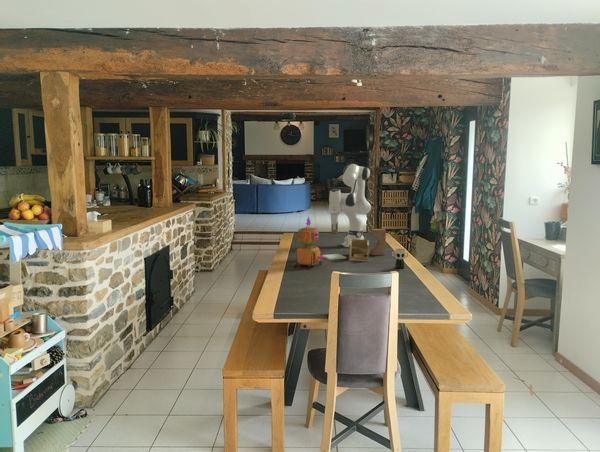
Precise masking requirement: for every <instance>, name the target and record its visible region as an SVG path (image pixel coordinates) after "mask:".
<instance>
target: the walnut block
mask: <svg viewBox="0 0 600 452" xmlns="http://www.w3.org/2000/svg"><path fill="white" fill-rule="evenodd" d="M330 234H331V235H338V234H339V221H338V222H337V224H336V229H335V230H333V224H331V233H330Z"/></svg>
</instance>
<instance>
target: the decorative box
mask: <svg viewBox="0 0 600 452" xmlns="http://www.w3.org/2000/svg"><path fill="white" fill-rule="evenodd" d="M305 224H306V227H302V228H299V229H298V232H297V233H298V234H297V238H298V239H297V240H298V243H300V244H303V246H300V247H298V248H297V249H296V253H295V254H296V260H295V261H296V262H295V264H294V265H293V268H294V269H295V268H296V267H297V265H303V266H304V265H305V266H307V270H310V269H311V266H313V265H316V264H319V265H322V264H323V263H322V261H321V259H322V260H323V259H324V257H322V255H321V250H320V248H319V247H318V246H315V245H314V243H317V242H318V240H320V238H319V235H320V233H319V230H318V228H316V227H310V225H311V224H312V222H311V219H310V217H309V216H308V217H307V219H306V223H305Z"/></svg>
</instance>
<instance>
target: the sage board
mask: <svg viewBox="0 0 600 452" xmlns="http://www.w3.org/2000/svg"><path fill="white" fill-rule="evenodd" d="M321 256H322V257H323V259H327V260H329V261H333V260H346V259H347V256H345V255H342V254H340V253H334V254H332V253H331V254H330V253H329V254H322V255H321Z"/></svg>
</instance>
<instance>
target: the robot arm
mask: <svg viewBox="0 0 600 452" xmlns="http://www.w3.org/2000/svg"><path fill="white" fill-rule="evenodd" d="M342 171H343V173H342V174H343V175H342V182H343V183H344V185H346V186H347V187H350V188H351V191H350V192H345V193H344V192H341V189H340V188H332V189H330V191H329V196H328V197H329V198H328V202H329V205H328V213H329V214H330V223H331V225H332V224H333V230H335V229H336V224H337V222H338V223H339V215H340V214H341V212H342V213H343V214H344V215H345V216H346V217H347V218H348V222H349V223H348V224H349V225H348V226H349V230H348V233H347V235H346V236H345V238H344V239H343V241H344V242H342V243H341V245H342V246H343V247H345V248H349V243H350V239H362V240H365V237H364V236H363V233H364V232H363V231H364V230H363V220H362V219H360V218H358V217H357V215H365V214H369V213H370V211H371V210H372V205H371V204H370V202H369V201H368V200H367V198H366V197H365V189H366V180H368V179H369V178H370V175H371V172H370V171H371V170H370V169H369V167H367V166H360V165H358V164H355V163H351V164H349V165H346V166H344V168H343V170H342Z"/></svg>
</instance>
